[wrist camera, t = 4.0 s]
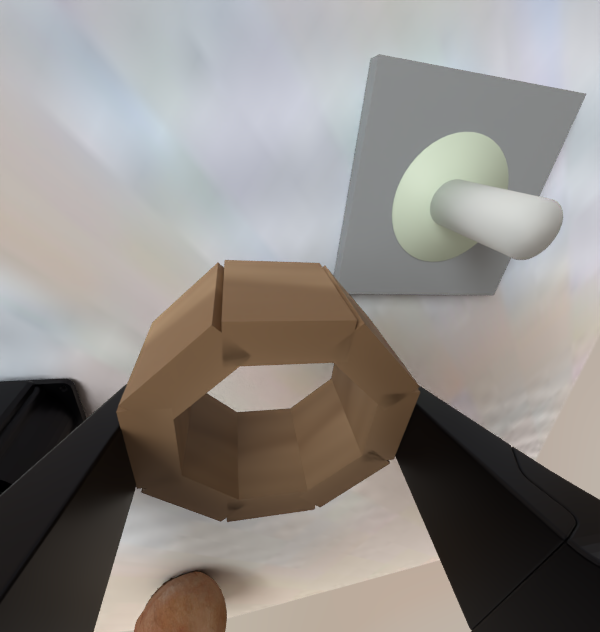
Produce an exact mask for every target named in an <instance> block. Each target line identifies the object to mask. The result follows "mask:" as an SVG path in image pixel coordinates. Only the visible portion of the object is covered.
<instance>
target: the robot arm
mask: <svg viewBox="0 0 600 632" xmlns="http://www.w3.org/2000/svg"><path fill="white" fill-rule="evenodd" d="M63 386H65V387H63ZM126 386H127V384H126V385H125V386H123V387H122V388H121V389H120V390H119V391H118V392H117V393H116V394H114V395H113V396H112V397H111V398H110V399H109V400H108V401H106V402H105V403H104V404H103V405H102V406H101V407H100V408H99V409H97V410H96V411H95V412H94V413H93V414H92V415H91V416H89V417H88V418H87V419H86V416H85V413H84V410H83V407H82V404H81V402H80V399H79V396H78V393H77V390H76V387H75V384H74V382H73V381H71V380H69V379H47V380H24V381H1V382H0V632H94V628H95V625H96V621H97V618H98V614H99V611H100V608H101V604H102V601H103V597H104V594H105V591H106V587H107V584H108V580H109V577H110V573H111V570H112V567H113V563H114V560H115V556H116V553H117V550H118V546H119V543H120V539H121V536H122V532H123V529H124V526H125V522H126V519H127V515H128V512H129V509H130V505H131V502H132V498H133V495H134V491H135V488H136V482H135V478H134V475H133V471H132V467H131V463H130V460H129V456H128V452H127V449H126V445H125V441H124V438H123V434H122V430H121V428H120V424H119V421H118V417H117V413H116V411H117V409H118V405H119V403H120V400H121V398H122V396H123V393H124V391H125V388H126ZM418 390H419V391H420V394H419V397H418V399H417V402H416V404H415V407H414V409H413V412H412V414H411V417H410V420H409V422H408V425H407V427H406V430H405V432H404V435H403V437H402V440H401V442H400V445H399V447H398V450H397V452H396V455H395V456H396V459H397V461H398V463H399V466H400V468H401V470H402V473H403V475H404V477H405V479H406V482H407V484H408V486H409V489H410V491H411V493H412V496H413V498H414V500H415V503H416V505H417V507H418V510H419V512H420V514H421V517H422V519H423V521H424V523H425V526H426V528H427V530H428V533H429V535H430V537H431V540H432V542H433V544H434V547H435V549H436V551H437V554H438V556H439V558H440V561H441V563H442V565H443V568H444V570H445V572H446V574H447V577H448V579H449V581H450V583H451V586H452V588H453V591H454V593H455V595H456V598H457V600H458V602H459V605H460V607H461V609H462V611H463V614H464V616H465V618H466V621H467V623H468V625H469V628H470V629H471V630H472V631H471V632H600V500H599V499H597V498H596V497H594V496H592V495H591V494H589V493H587V492H585V491H584V490H582V489H580V488H579V487H577V486H575V485H573V484H572V483H570V482H568V481H567V480H565V479H563V478H562V477H560V476H558V475H557V474H555V473H553V472H552V471H550V470H548V469H547V468H545V467H544V466H542V465H541V464H539V463H537V462H536V461H534V460H533V459H531V458H529V457H528V456H526V455H525V454H523V453H522V452H520V451H519V450H517V449H516V448H514V447H511V445H509V444H508V443H506V442H505V441H503V440H502V439H500V438H499V437H497V436H496V435H494V434H493V433H491V432H490V431H488V430H486V429H485V428H483V427H482V426H480V425H479V424H477V423H476V422H474V421H473V420H471V419H470V418H468V417H467V416H465V415H463V414H462V413H460V412H459V411H457V410H456V409H454V408H453V407H451V406H450V405H448V404H447V403H445V402H444V401H442V400H440V399H439V398H437V397H436V396H434V395H433V394H431V393H430V392H428V391H427V390H425V389H424V388H422V387H421V386H419V388H418Z"/></svg>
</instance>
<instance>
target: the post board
mask: <svg viewBox="0 0 600 632" xmlns="http://www.w3.org/2000/svg"><path fill="white" fill-rule="evenodd" d="M585 96H586V94H584V93H579V92H574V91H569V90H563V89H558V88H553V87H548V86H542V85H537V84H532V83H527V82H521V81H516V80H511V79H506V78H500V77H495V76H490V75H485V74H479V73H474V72H469V71H464V70H458V69H453V68H448V67H443V66H437V65H432V64H427V63H422V62H416V61H411V60H406V59H401V58H395V57H390V56H385V55H380V54H379V55H377V56H375V57H373V58H371V60H370V66H369V72H368V78H367V84H366V90H365V95H364V101H363V107H362V113H361V119H360V125H359V131H358V137H357V142H356V148H355V154H354V160H353V166H352V172H351V178H350V184H349V190H348V195H347V201H346V207H345V213H344V219H343V225H342V231H341V237H340V242H339V248H338V254H337V260H336V266H335V272H334V277H335V278H336V279H337V280H338V282H339V283H340V284H341V285H342V286H343V288H344V289H345V290H346V291H347V292H348V294H412V295H494V294H495V291H496V289H497V287H498V285H499V283H500V281H501V278H502V276H503V274H504V272H505V270H506V267H507V265H508V263H509V261H510V259H511V258H513V259H516V260H526V259H530V258H532V257H534V256H536V255H538V254H540V253H541V252H542V251H544V250H545V249H546V248H547V247H548V246H549V245H550V244H551V243H552V241H553V240H554V239H555V237H556V236H557V234H558V232H559V230H560V227H561V225H562V220H563V211H562V208H561V206H560V204H559V203H558V202H557V201H555V200H553V199H548V198H543V197H539V196H540V194H541V191H542V189H543V187H544V185H545V183H546V181H547V178H548V176H549V174H550V172H551V170H552V168H553V165H554V163H555V161H556V159H557V157H558V155H559V152H560V150H561V148H562V146H563V144H564V141H565V139H566V137H567V135H568V133H569V131H570V128H571V126H572V124H573V122H574V120H575V118H576V115H577V113H578V111H579V109H580V107H581V105H582V102H583V100H584V98H585Z"/></svg>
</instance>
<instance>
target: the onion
mask: <svg viewBox="0 0 600 632" xmlns="http://www.w3.org/2000/svg"><path fill="white" fill-rule="evenodd" d="M172 579H173V580H172ZM157 589H158V588H157ZM226 621H227V610H226V604H225V599H224V596H223V594H222V591H221V589H220V588H219V586H218V585H217V583H216V582H215V581H214V580H213V579H212V578H211V577H209V576H208V575H206V574H204V573H202V572H196V571H194V572H192V573H187V574H184V575H181V576H179V577H176V578H171V579H170V580H169V581H167V582H165V583H163V585H162V586H161V587H160V588H159V589H158V590H157V591H156V592H155V593H154V594H153V595H152V597H151V599H150V600H149V601H148V603H147V604H146V607H145V609H144V611H143V612H142V614H141V615H140V617H139V618H138V619H137V622H136V624H135V629H134V632H225V629H226Z"/></svg>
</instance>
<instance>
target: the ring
mask: <svg viewBox="0 0 600 632" xmlns="http://www.w3.org/2000/svg"><path fill="white" fill-rule="evenodd" d="M308 363H334V367H333V372H332V378H331V379H330V380H329V381H327V382H326V383H325V384H323V385H322V386H321V387H319V388H318V389H316V390H315V391H314V392H312V393H311V394H310V395H308V396H307V397H306V398H304V399H303V400H301V401H300V402H299V403H297V404H296V405H295V406H293V407H292V408H291V409H277V410H263V411H249V412H236V411H234V410H233V409H231V408H229V407H228V406H226V405H225V404H223V403H221V402H220V401H218V400H217V399H215V398H213V397H212V396H210V395H209V394H207V392H208V391H210V390H211V389H212V388H213V387H215V386H216V385H217V384H218V383H220V382H221V381H222V380H223V379H225V378H226V377H227V376H228V375H230V374H231V373H232V372H233V371H235V370H236V369H237V368H238V367H239V366H258V365H283V364H308ZM418 388H419V385H418V384H417V382H416V381H415V380H414V378H413V377H412V376H411V374H410V373H409V372H408V370H407V369H406V367H405V366H404V365H403V363H402V362H401V361H400V359H399V358H398V356H397V355H396V354H395V352H394V351H393V350H392V348H391V347H390V346H389V344H388V343H387V341H386V340H385V339H384V337H383V336H382V335H381V333H380V332H379V330H378V329H377V328H376V326H375V325H374V324H373V322H372V321H371V320H370V318H369V317H368V316H367V315H366V314H365V312H364V311H363V310H362V309H361V308H360V307H359V305H358V304H357V303H356V302H355V301H354V299H353V298H352V297H351V296H350V295H349V294H348V292H347V291H346V290H345V289H344V288H343V286H342V285H341V284H340V283H339V282H338V280H337V279H336V278H335V277H334V276H333V275H332V273H331V272H330V271H329V270H328V269H327V267H326V266H324V267H323V268H322V266H321V265H320V263H301V262H269V261H237V260H225V264H224V267H222V266H221V265H220V264H219V263H217V264H216V265H215V266H214V267H213V268H211V269H210V270H209V271H208V272H207V273H206V274H205V275H204V276H203V277H202V278H201V279H199V280H198V281H197V282H196V283H195V284H194V285H193V286H192V287H191V288H190V289H188V290H187V291H186V292H185V293H184V294H183V295H182V296H181V297H180V298H179V299H178V300H176V301H175V302H174V303H173V304H172V305H171V306H170V307H169V308H168V309H167V310H166V311H164V312H163V313H162V314H161V315H160V316H159V317H158V318H157V319H156V320H155V321H153V322H152V325H151V327H150V330H149V332H148V335H147V337H146V339H145V342H144V344H143V347H142V349H141V352H140V354H139V357H138V359H137V361H136V364H135V366H134V369H133V371H132V374H131V376H130V378H129V381H128V383H127V386H126V388H125V391H124V393H123V396H122V398H121V400H120V403H119V405H118V409H117V411H116V413H117V417H118V421H119V424H120V428H121V430H122V434H123V438H124V441H125V445H126V449H127V452H128V456H129V460H130V463H131V467H132V471H133V475H134V478H135V482H136V487H137V489H138V488H142V491H141V492H142V493H144V494H147V495H150V496H152V497H155V498H158V499H161V500H163V501H166V502H169V503H172V504H174V505H177V506H180V507H183V508H185V509H188V510H191V511H193V512H196V513H199V514H202V515H204V516H207V517H210V518H213V519H215V520H218V521H222V520H224V519H225V518H227V522H230V521H237V520H244V519H251V518H258V517H265V516H272V515H279V514H286V513H293V512H300V511H307V510H314V509H315V505H316V506H318V507H322V506H323V505H325V504H326V503H328V502H329V501H331V500H333V499H334V498H336V497H337V496H339V495H341V494H342V493H344V492H345V491H347V490H348V489H350V488H352V487H353V486H355V485H356V484H358V483H360V482H361V481H363V480H364V479H366V478H367V477H369V476H371V475H372V474H374V473H375V472H377V471H379V470H380V469H382V468H383V467H385V466H386V465H388V464H390V462H389V460H392V459H394V457H395V455H396V452H397V450H398V447H399V445H400V442H401V440H402V437H403V435H404V432H405V430H406V427H407V425H408V422H409V420H410V417H411V414H412V412H413V409H414V407H415V404H416V402H417V399H418V397H419V394H420V391H419V390H418Z"/></svg>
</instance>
